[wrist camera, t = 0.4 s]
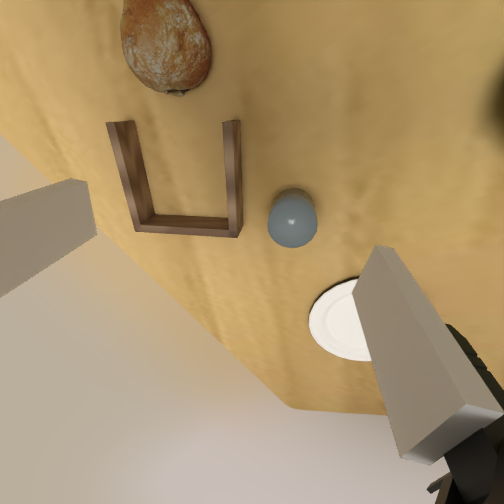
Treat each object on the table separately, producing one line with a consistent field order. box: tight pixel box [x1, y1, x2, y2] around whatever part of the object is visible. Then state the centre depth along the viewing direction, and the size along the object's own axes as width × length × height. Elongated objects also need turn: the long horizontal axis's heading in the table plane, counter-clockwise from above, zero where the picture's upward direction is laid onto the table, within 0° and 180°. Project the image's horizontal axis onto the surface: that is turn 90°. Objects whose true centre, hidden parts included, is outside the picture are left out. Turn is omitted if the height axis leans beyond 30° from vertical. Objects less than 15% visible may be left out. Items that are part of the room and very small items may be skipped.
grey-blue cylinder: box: [268, 188, 317, 248], centre depth 35 cm, size 6×6×6 cm
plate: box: [309, 279, 372, 361], centre depth 46 cm, size 21×21×2 cm
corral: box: [106, 120, 243, 238], centre depth 36 cm, size 15×16×4 cm
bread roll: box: [120, 0, 211, 96], centre depth 28 cm, size 10×10×8 cm
